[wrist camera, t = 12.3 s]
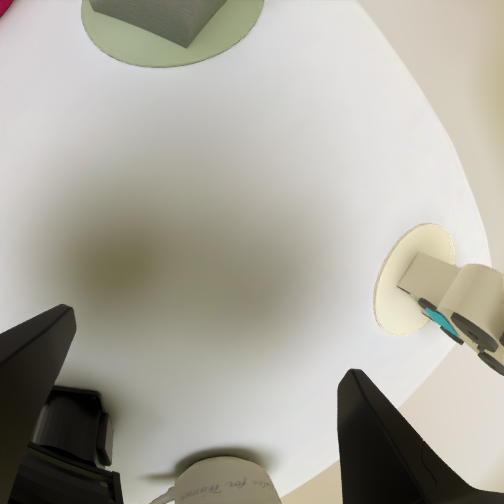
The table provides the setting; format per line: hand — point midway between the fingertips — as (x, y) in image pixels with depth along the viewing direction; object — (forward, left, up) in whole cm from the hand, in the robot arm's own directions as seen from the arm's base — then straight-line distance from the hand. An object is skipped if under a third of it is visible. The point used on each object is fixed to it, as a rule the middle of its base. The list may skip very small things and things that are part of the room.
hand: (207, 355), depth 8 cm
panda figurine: (+21, -2, -11) cm, 24 cm away
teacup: (+2, -25, -11) cm, 27 cm away
